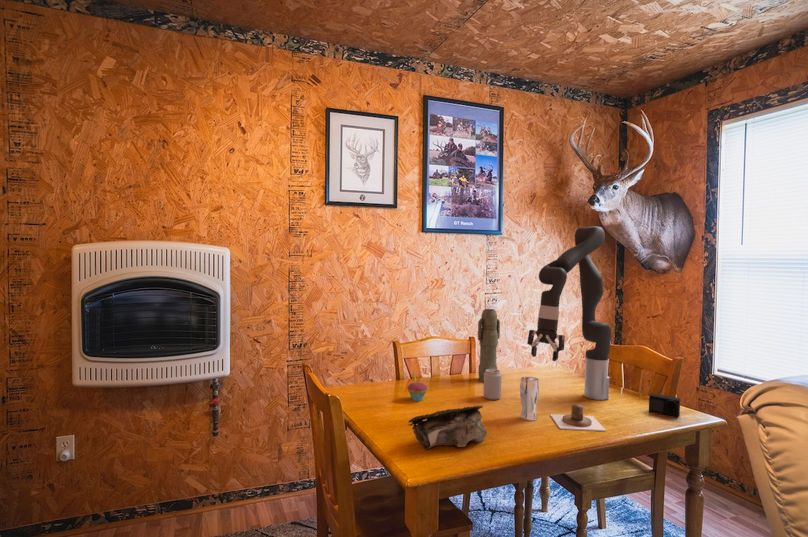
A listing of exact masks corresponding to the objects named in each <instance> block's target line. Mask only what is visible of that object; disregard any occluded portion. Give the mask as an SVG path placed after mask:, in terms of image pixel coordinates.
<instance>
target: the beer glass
mask: <svg viewBox="0 0 808 537" xmlns="http://www.w3.org/2000/svg"><path fill="white" fill-rule="evenodd" d="M539 381H540V379H539V378H537V377H534V376H522V377H521V378H520V383H519V395H520V396H519V397H520V402H521V411H520V415H519V416H520V419H521V420H523V421H529V422H532V421H537V419H538V416H537V407H538V406H537V405H538V400H539V396H540V382H539Z"/></svg>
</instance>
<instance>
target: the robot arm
mask: <svg viewBox="0 0 808 537" xmlns="http://www.w3.org/2000/svg"><path fill="white" fill-rule="evenodd" d="M605 238H606V234H605V231H604V229H603V228H602V227H601V226H581V227H578V228H576V230H575V232H574V245H575V246H573V247H570V248H568V249H566V250H565V251H564V252H562V253H561V254H560V255H559V256H558V257H557V259H555V260H553V261H550V262H549V263H547V264H546V265H544V266H542V268H541V269H540V270H539V273H538V280H539V281H540V283H541V284H543V285H550V286H551V288H550V289H549V290H544V291H542V292H541V294H540V295H541V297H540V303H539V304H540V305H539V309H538V317H537V325H536V327H537V330H535V329H529V331H528V337H527V345H529V346H531V351H530V355H531V356H532V357H534V358H536V357H537V352H538V347H537V346H539V344H540V343H541V344H547V345H550V347H551V348H552V350H553V351H552V359H551V361H552V362H557V361H558V359H559V354H560V351H561V352H562V351H564V350H565V339H566V338H565V335H564V334H558V326H559V315H560V309H559V308H560V300H561V295H562V293H563V290H564V288H565V285H566V284H567V283H566V282H567V280H568V279H567V278H568V275H567V274H568V273H570V272H571V271H572V270H573V268H575V267H576V266H577V264H578V271H579V286H580V287H579V288H580V294H581V309H582V310H581V312H582V313H581V314H582V315H581V318H582V319H581V332H582V333H581V334H582V337H583V338H584V340H585V341H587V342H591V343H595V346H594V348H593V349H592V348H591V349H587V350H586V351H585V359H584V362H585V364H584V389H583V390H584V391H583V393H584V394H583V395H584V397H585V398H588V399H591V400H595V401H597V400H598V401H605V400H609V397H610V395H609V394H610V377H609V376H608V375H609V374H608V373H609V369H608V368H609V356H610V353H611V345H612V343H611V342H612V328H611V325H609V323H606V322H601V321H596V309H597V307H598V305H599V303H600V301H601V299H602V297H603V295H604V280H603V279H604V278H603V276H602V274H601V272H600V271H599V269H598V268H597V266H596V264H595V263H594V262H593V260H592V259H591V253H593V252H594V251H596V250H598V249H599V248H600V247H601V246H603V244H604V242H605ZM535 336H536V338H535ZM534 338H535V340H534ZM556 339H557V340H558V343H557V341H556Z"/></svg>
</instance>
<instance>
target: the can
mask: <svg viewBox="0 0 808 537" xmlns="http://www.w3.org/2000/svg"><path fill="white" fill-rule="evenodd" d="M502 377H503V374H502V373H501V370H500V369H498V368H497V369H487V370H486V372H485V373H484V382H483V393H482V394H483V397H484V398H485V399H487V400H491V401H496V400H500V398H502V384H503V383H502V380H503V378H502Z"/></svg>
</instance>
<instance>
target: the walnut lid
mask: <svg viewBox="0 0 808 537" xmlns="http://www.w3.org/2000/svg"><path fill="white" fill-rule="evenodd" d="M563 415H564V416H563V421H564V422H565V423H567V424H569V425H572V426H577V427H588V426H591V424H592V421H591V419H589V418H587V417H584V416H585V415H584V405H582V404H579V403H578V404H577V403H573V404H571V412H570V414H563Z"/></svg>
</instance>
